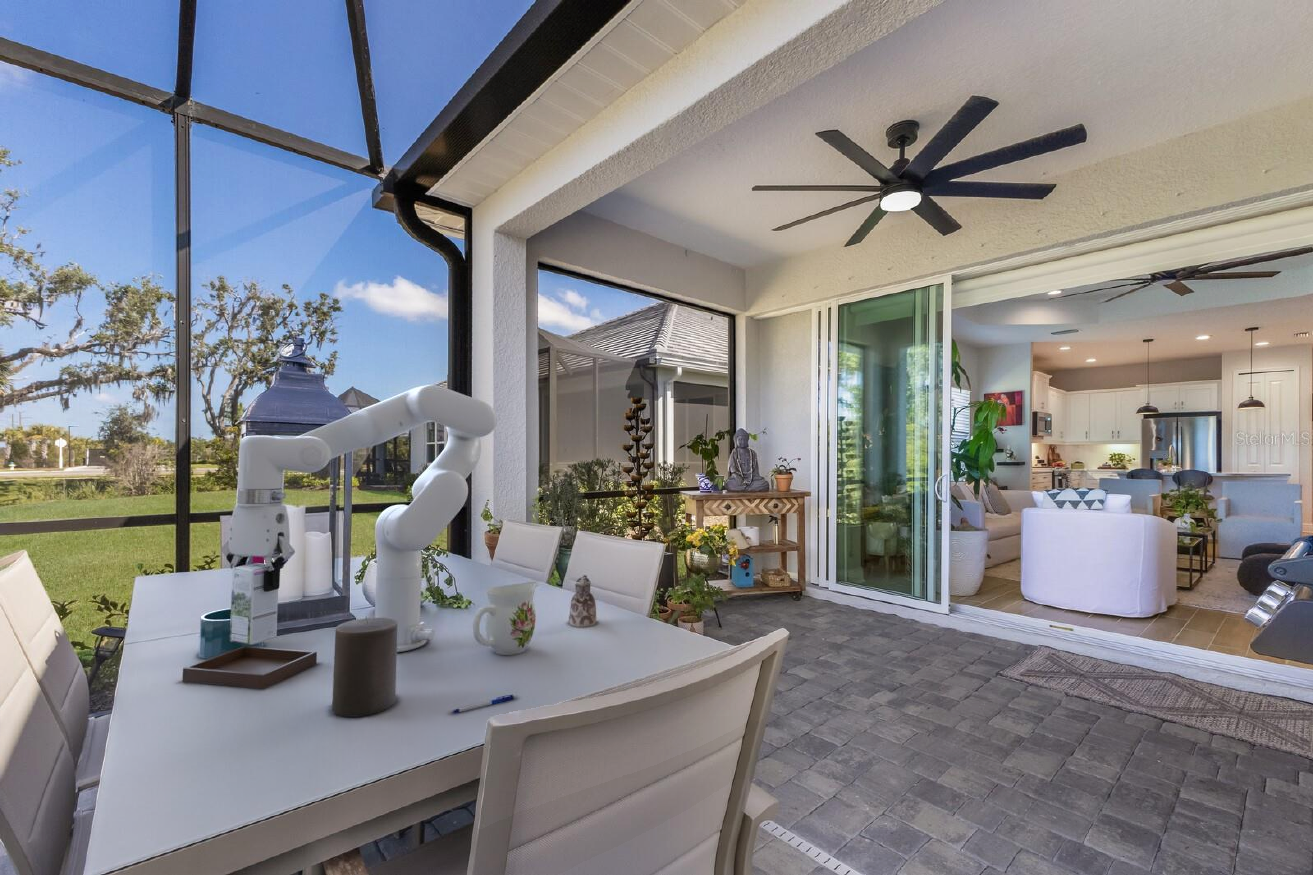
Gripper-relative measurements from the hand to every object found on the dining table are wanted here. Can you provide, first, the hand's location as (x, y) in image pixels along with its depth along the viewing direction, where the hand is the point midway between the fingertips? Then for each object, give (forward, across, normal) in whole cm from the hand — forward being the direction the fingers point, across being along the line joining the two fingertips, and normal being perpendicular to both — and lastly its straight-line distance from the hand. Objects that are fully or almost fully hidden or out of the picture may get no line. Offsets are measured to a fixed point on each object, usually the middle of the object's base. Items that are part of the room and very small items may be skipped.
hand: (255, 588), depth 113 cm
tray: (+16, 0, 0) cm, 16 cm away
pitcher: (+16, -43, -22) cm, 51 cm away
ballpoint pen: (+17, -51, +5) cm, 54 cm away
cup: (+16, +15, -10) cm, 24 cm away
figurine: (+16, -53, -47) cm, 73 cm away
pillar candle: (+17, -31, +9) cm, 36 cm away
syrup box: (+10, 0, 0) cm, 10 cm away
